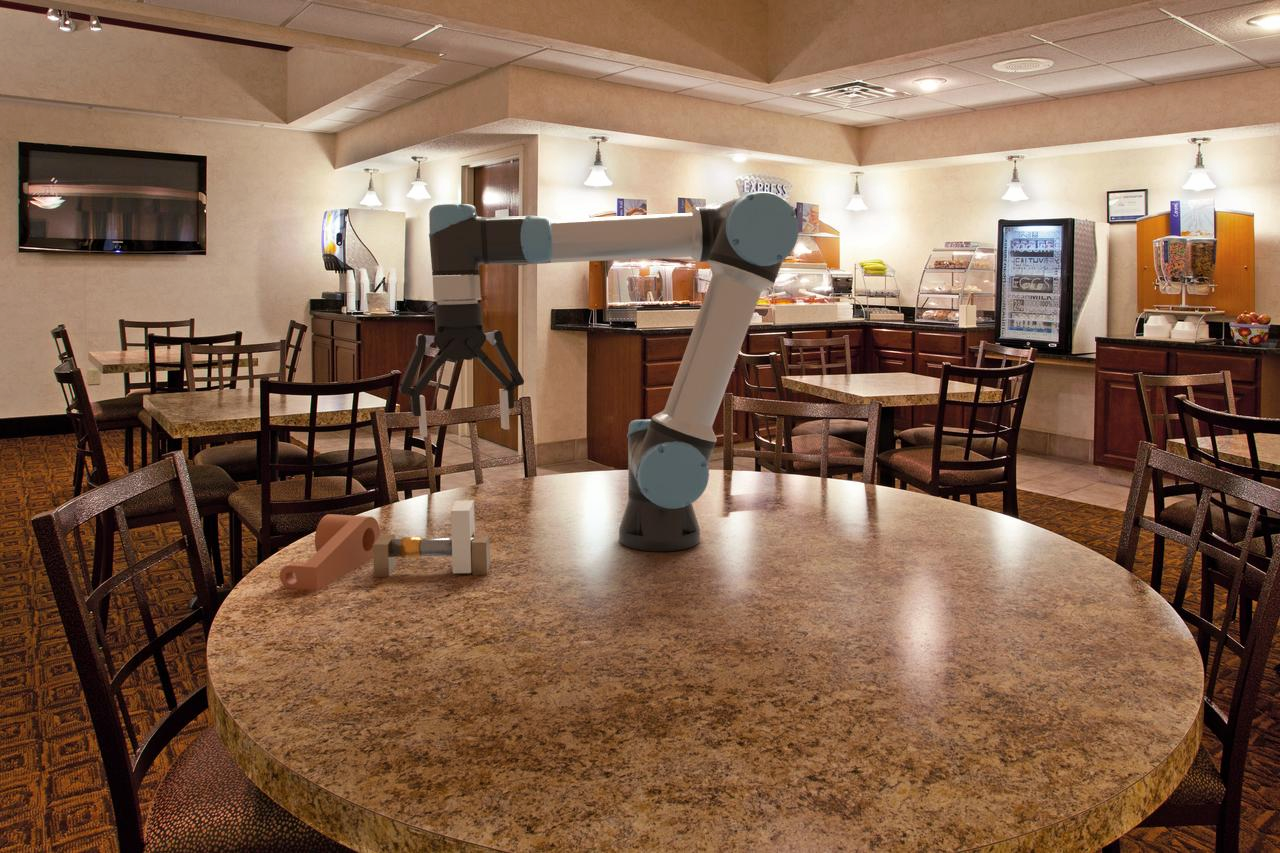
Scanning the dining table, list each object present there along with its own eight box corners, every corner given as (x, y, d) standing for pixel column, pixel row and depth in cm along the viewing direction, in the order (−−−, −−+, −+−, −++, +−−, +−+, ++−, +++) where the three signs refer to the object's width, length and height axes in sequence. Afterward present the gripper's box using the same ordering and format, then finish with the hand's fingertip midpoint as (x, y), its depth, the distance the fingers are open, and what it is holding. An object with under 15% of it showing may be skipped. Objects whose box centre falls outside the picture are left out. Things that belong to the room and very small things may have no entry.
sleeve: (475, 560, 161) (473, 500, 159) (471, 572, 154) (469, 510, 152) (458, 560, 160) (456, 500, 159) (452, 573, 154) (450, 510, 152)
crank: (341, 552, 168) (338, 509, 167) (381, 555, 166) (379, 511, 165) (273, 587, 149) (270, 539, 148) (317, 591, 147) (314, 543, 146)
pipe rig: (490, 563, 160) (489, 531, 159) (487, 574, 154) (486, 541, 154) (381, 565, 159) (380, 533, 158) (374, 577, 153) (372, 543, 152)
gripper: (525, 299, 159) (531, 422, 162) (375, 305, 149) (384, 435, 153) (538, 300, 152) (544, 428, 155) (381, 306, 142) (391, 442, 146)
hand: (465, 432), depth 154 cm, fingers open, 13 cm apart
